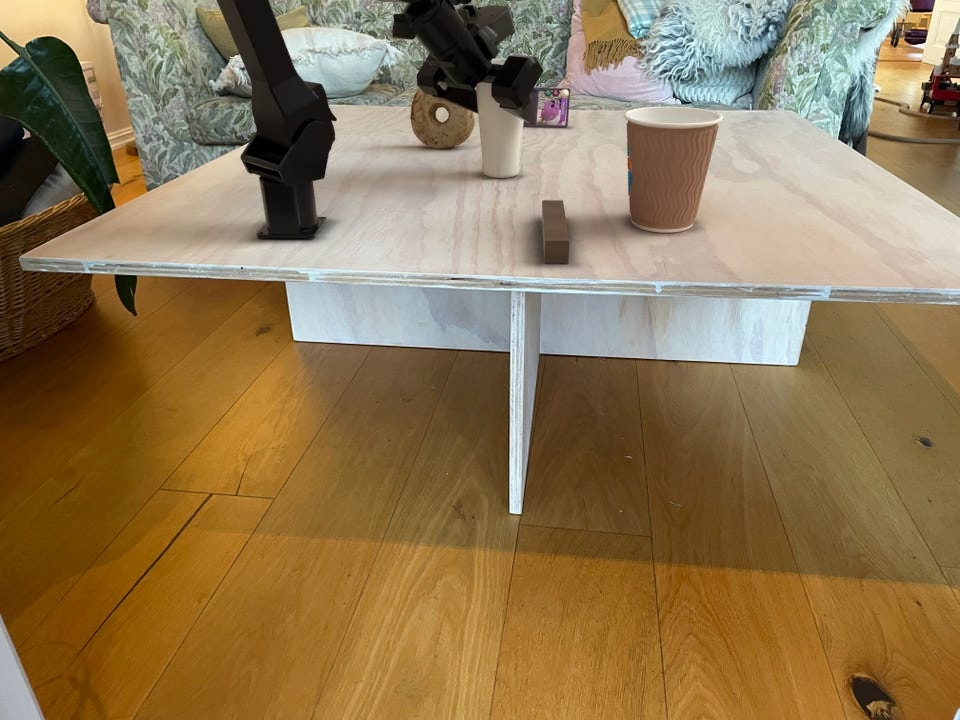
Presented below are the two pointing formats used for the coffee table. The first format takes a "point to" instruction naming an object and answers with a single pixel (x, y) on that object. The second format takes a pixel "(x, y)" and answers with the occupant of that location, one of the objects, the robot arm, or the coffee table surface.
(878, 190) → the coffee table surface
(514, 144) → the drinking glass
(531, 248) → the coffee table surface
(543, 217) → the baton
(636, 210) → the coffee cup
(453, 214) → the coffee table surface
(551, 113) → the purple printed box
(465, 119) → the bagel
